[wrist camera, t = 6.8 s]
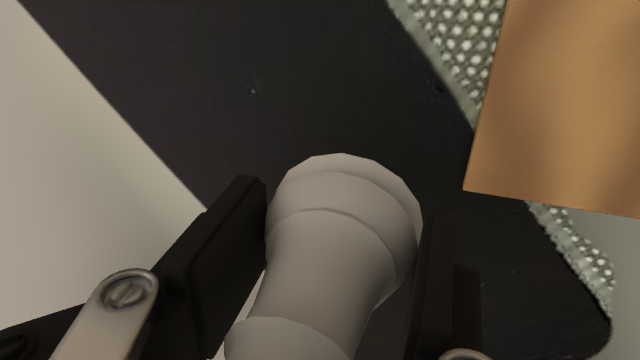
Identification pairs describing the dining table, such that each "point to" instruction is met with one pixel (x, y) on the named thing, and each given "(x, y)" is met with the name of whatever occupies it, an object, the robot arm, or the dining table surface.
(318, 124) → the dining table surface
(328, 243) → the rook chess piece
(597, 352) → the dining table surface
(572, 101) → the wooden board
